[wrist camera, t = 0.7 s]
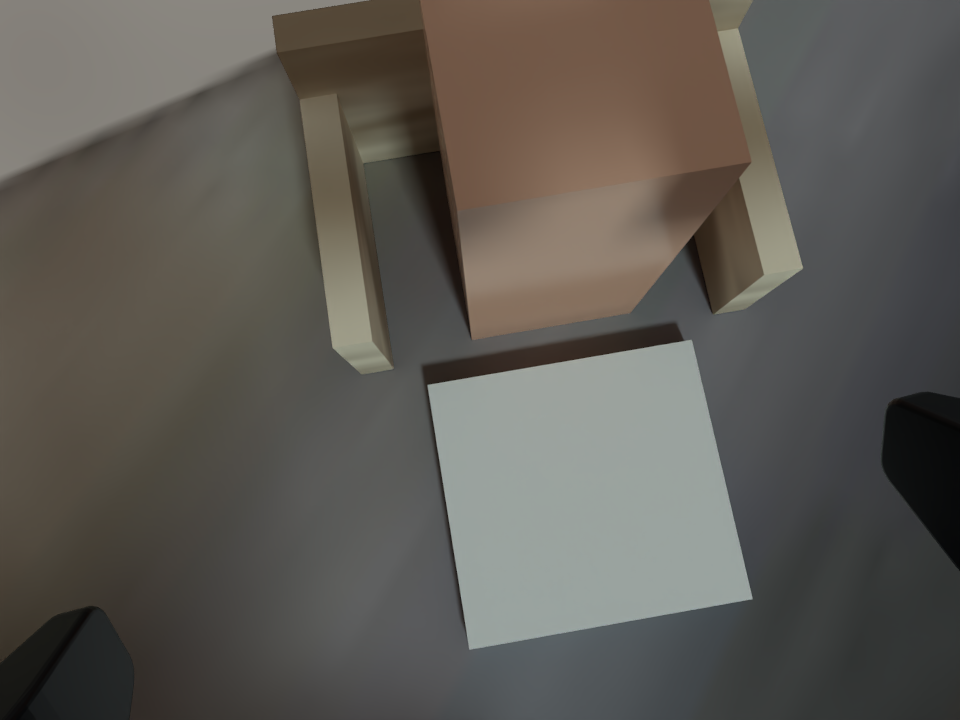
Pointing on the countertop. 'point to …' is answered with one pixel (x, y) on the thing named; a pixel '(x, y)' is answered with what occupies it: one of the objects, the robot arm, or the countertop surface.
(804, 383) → the countertop surface
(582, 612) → the mat
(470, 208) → the brown rectangular block
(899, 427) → the robot arm
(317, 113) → the cubby
